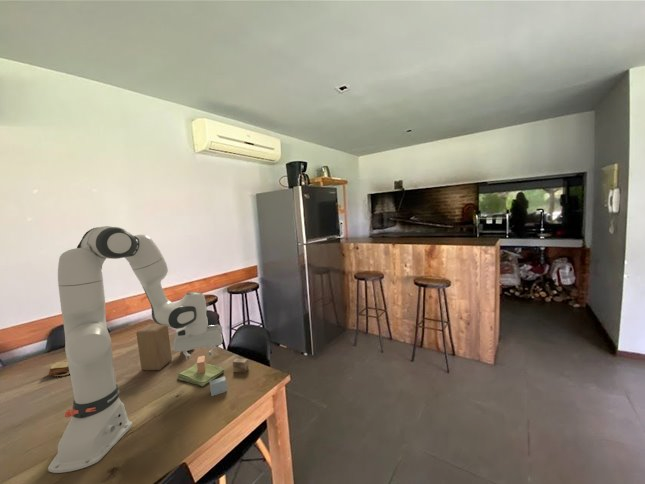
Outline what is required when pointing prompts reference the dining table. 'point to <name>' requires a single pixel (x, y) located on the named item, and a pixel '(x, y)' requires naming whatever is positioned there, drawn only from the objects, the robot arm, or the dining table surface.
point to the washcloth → (202, 378)
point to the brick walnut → (240, 365)
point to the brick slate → (218, 386)
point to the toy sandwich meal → (59, 369)
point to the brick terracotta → (201, 364)
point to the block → (154, 346)
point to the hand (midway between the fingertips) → (199, 356)
